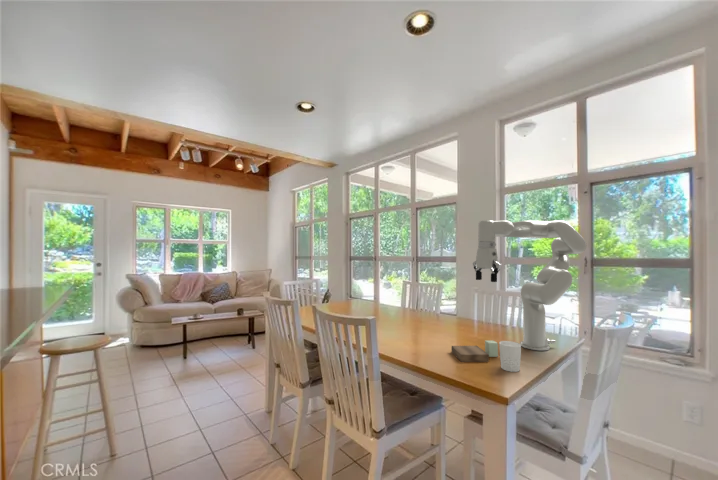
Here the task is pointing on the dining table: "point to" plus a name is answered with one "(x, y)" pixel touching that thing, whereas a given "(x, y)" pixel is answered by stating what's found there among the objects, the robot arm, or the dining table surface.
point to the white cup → (510, 355)
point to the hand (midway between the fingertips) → (486, 280)
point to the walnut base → (470, 354)
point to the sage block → (491, 348)
